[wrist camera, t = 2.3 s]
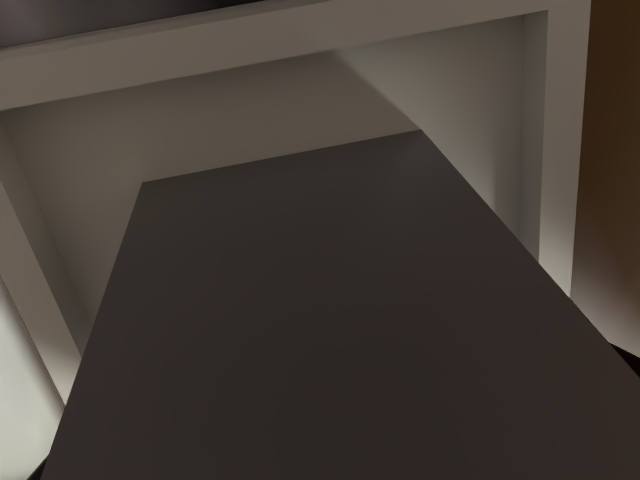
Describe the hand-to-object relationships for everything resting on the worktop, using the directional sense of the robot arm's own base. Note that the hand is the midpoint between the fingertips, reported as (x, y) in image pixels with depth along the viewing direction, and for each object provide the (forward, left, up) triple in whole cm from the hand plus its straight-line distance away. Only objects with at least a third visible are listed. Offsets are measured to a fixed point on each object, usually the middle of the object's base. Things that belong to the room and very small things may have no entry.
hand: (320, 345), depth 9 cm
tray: (0, 0, -2) cm, 2 cm away
